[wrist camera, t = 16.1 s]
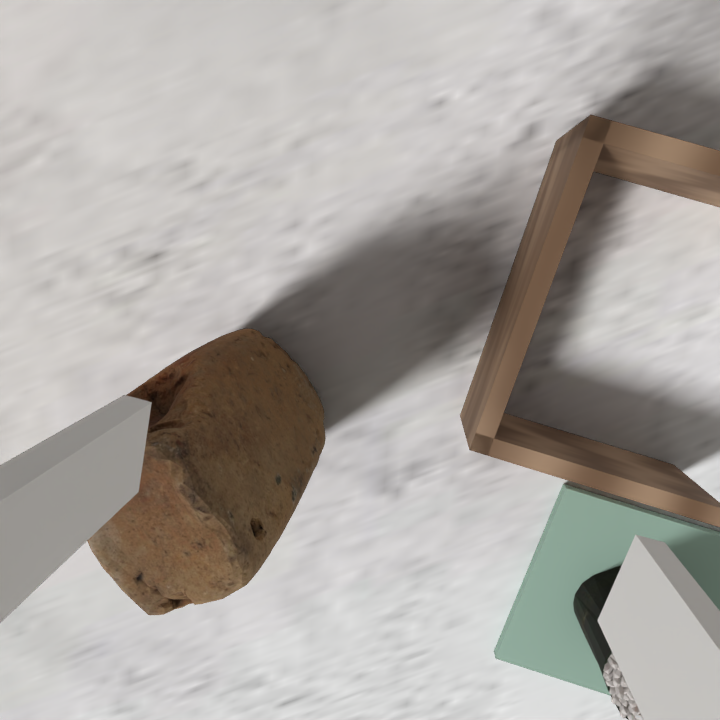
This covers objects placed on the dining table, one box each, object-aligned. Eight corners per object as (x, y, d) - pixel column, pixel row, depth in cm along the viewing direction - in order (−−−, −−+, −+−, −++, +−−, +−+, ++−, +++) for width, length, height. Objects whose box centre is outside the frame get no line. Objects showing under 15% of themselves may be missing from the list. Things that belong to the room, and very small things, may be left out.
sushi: (700, 633, 41) (768, 724, 33) (596, 665, 42) (637, 759, 34) (664, 546, 39) (726, 619, 32) (558, 583, 41) (592, 661, 33)
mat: (563, 483, 40) (566, 488, 39) (768, 546, 39) (775, 552, 39) (494, 651, 44) (495, 658, 43) (680, 711, 43) (685, 719, 42)
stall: (460, 415, 40) (469, 449, 33) (556, 140, 35) (590, 114, 28) (667, 478, 39) (720, 527, 32) (793, 207, 34) (886, 197, 28)
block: (341, 431, 41) (276, 596, 22) (261, 469, 42) (131, 656, 23) (274, 309, 39) (139, 368, 20) (194, 353, 41) (-7, 447, 21)
